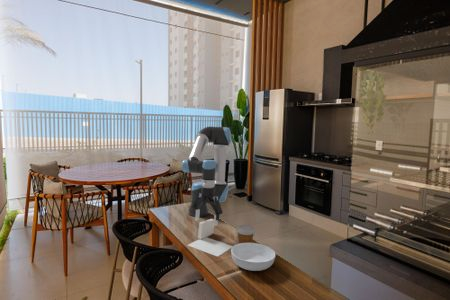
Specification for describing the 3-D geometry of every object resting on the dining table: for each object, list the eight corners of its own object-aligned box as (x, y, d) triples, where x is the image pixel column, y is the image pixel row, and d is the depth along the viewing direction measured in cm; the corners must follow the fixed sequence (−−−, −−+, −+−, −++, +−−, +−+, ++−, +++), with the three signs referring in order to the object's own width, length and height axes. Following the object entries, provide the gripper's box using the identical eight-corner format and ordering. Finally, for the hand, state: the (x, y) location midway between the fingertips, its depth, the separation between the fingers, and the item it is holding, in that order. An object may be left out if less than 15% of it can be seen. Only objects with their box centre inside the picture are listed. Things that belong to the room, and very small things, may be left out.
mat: (204, 237, 157) (204, 236, 157) (233, 247, 146) (233, 246, 146) (187, 246, 145) (187, 245, 145) (217, 257, 134) (217, 256, 134)
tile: (209, 233, 164) (211, 218, 164) (213, 234, 162) (214, 219, 162) (197, 238, 154) (199, 222, 153) (200, 239, 152) (202, 223, 152)
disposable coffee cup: (255, 248, 147) (257, 226, 146) (249, 255, 138) (251, 232, 137) (239, 244, 150) (240, 223, 149) (232, 251, 142) (234, 228, 141)
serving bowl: (284, 271, 124) (285, 256, 124) (246, 282, 114) (247, 266, 113) (257, 251, 142) (257, 239, 142) (222, 259, 132) (223, 246, 131)
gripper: (187, 184, 160) (185, 219, 161) (222, 191, 146) (220, 229, 147) (195, 182, 166) (194, 216, 167) (229, 189, 152) (227, 226, 154)
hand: (206, 222), depth 157 cm, fingers open, 13 cm apart
